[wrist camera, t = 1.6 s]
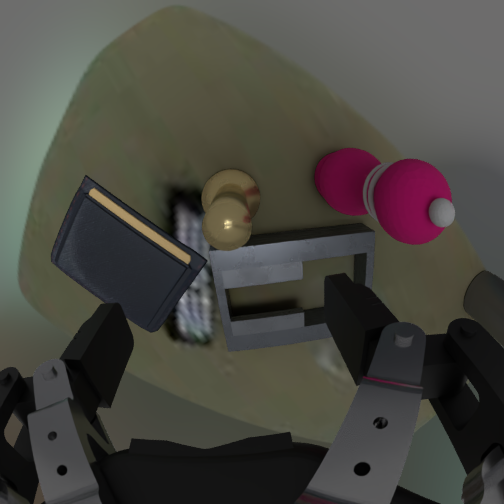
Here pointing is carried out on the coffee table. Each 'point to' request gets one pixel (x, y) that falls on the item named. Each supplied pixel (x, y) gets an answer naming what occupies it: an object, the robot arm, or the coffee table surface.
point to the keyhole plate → (285, 269)
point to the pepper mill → (387, 193)
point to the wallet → (123, 256)
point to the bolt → (229, 209)
